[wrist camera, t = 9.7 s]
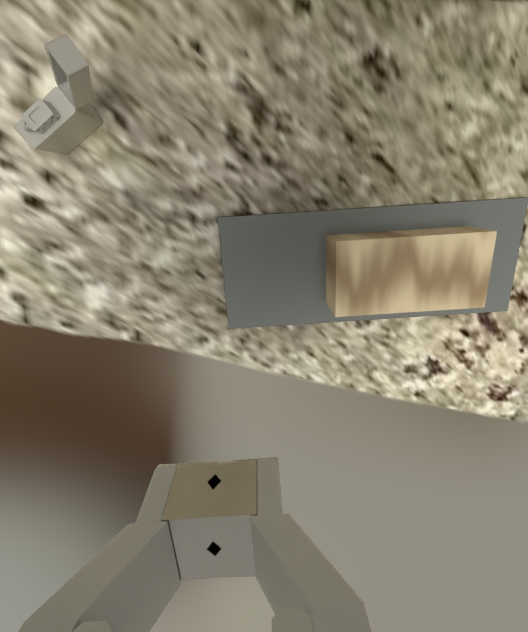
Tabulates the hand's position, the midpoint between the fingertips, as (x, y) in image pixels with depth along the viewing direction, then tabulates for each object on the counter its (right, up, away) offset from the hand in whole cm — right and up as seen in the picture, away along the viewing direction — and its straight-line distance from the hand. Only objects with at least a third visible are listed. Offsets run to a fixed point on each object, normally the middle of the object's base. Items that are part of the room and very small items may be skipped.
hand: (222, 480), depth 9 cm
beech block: (+7, +8, +20) cm, 22 cm away
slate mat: (+10, +9, +22) cm, 26 cm away
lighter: (-12, +19, +18) cm, 29 cm away
